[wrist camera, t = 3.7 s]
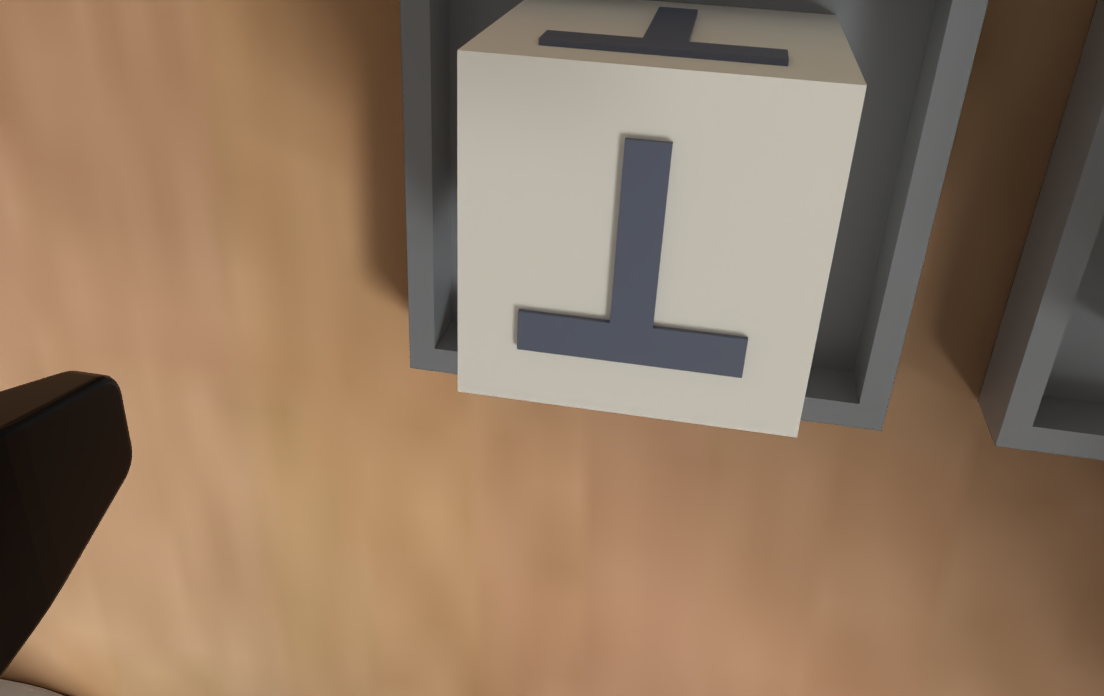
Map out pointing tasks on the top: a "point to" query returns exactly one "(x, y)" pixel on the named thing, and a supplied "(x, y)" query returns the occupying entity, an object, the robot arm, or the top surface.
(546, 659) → the top surface
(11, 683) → the utensil holder
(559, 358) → the letter cube
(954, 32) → the tray left
